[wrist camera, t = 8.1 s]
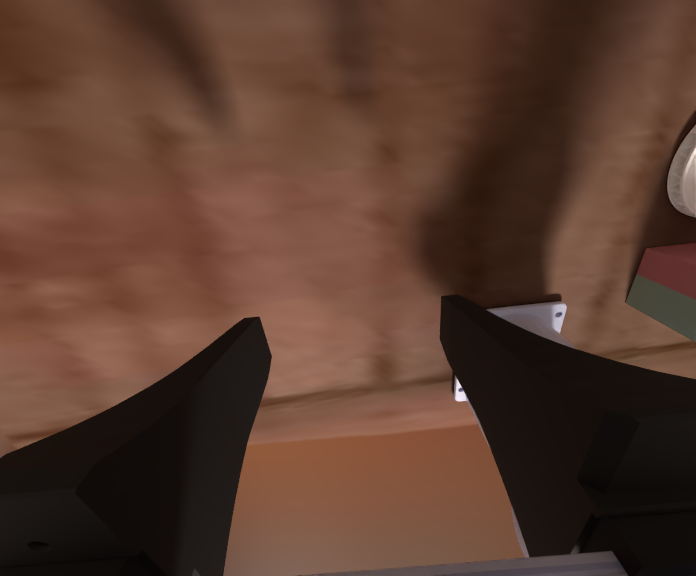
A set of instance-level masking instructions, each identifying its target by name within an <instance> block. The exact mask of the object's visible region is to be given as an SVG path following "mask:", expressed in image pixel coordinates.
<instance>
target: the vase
mask: <svg viewBox="0 0 696 576" xmlns="http://www.w3.org/2000/svg"><path fill="white" fill-rule="evenodd" d="M667 191H668V196H669V199H670V201H671V203H672V205H673V206H674V207H675V208H676V209H677V210H678V211H679V212H681V213H683V214H685V215H688V216H692V217H696V125H695V126H694V127H693V128H692V130H691V131H690V132H689V133H688V135H687V136H686V137H685V139H684V140H683V142H682V143H681V145H680V147H679V149H678V150H677V152H676V154H675V156H674V158H673V161H672V163H671V166H670V170H669V174H668V180H667Z"/></svg>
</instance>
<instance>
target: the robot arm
mask: <svg viewBox="0 0 696 576" xmlns="http://www.w3.org/2000/svg"><path fill="white" fill-rule="evenodd" d="M566 308H567V306H566V304H564V303H563V302H561V301H556V302H547V303H538V304H529V305H520V306H511V307H502V308H492V309H484V308H482V307H480V306H478V305H477V304H475V303H473V302H471V301H469V300H468V299H466V298H464V297H462V296H460V295H448V296H441V320H440V341H441V344H442V346H443V349H444V352H445V355H446V357H447V360H448V362H449V364H450V366H451V368H452V370H453V372H454V374H455V384H454V398H455V400H456V401H467V402H468V404H469V406H470V408H471V410H472V412H473V414H474V417H475V419H476V421H477V423H478V425H479V427H480V429H481V431H482V433H483V435H484V437H485V439H486V441H487V443H488V445H489V447H490V449H491V451H492V454H493V456H494V459H495V462H496V464H497V467H498V469H499V472H500V475H501V477H502V480H503V483H504V485H505V488H506V491H507V494H508V496H509V499H510V502H511V505H512V515H513V520H514V526H515V531H516V534H517V538H518V541H519V544H520V546H521V549H522V551H523V553H524V555H525V558H516V559H504V560H490V561H478V562H465V563H452V564H439V565H428V566H414V567H402V568H389V569H377V570H363V571H350V572H339V573H324V574H312V575H299V576H696V379H692V378H687V377H682V376H677V375H672V374H667V373H662V372H657V371H653V370H649V369H645V368H641V367H637V366H633V365H629V364H625V363H621V362H617V361H614V360H610V359H607V358H603V357H600V356H596V355H593V354H590V353H587V352H584V351H581V350H578V349H577V348H576V347H574V346H573V345H572V344H571V343H570V342H569V341H567V340H566V339H565V338H564V337H563V336H562V335H561V334H560V330H561V327H562V323H563V319H564V316H565V312H566ZM556 313H558V314H556ZM271 358H272V356H271V353H270V349H269V346H268V343H267V339H266V336H265V333H264V330H263V326H262V323H261V320H260V317H251V318H244V319H243V320H241V321H240V322H238V323H237V324H235V325H234V326H233V327H232V328H230V329H229V330H228V331H227V332H225V333H224V334H223V335H222V336H220V337H219V338H218V339H217V340H215V341H214V342H213V343H212V344H210V345H209V346H208V347H207V348H205V349H204V350H203V351H201V352H200V353H199V354H197V355H196V356H194V357H193V358H192V359H190V360H189V361H188V362H186V363H185V364H184V365H182V366H181V367H179V368H178V369H176V370H175V371H173V372H172V373H170V374H169V375H167V376H166V377H164V378H163V379H161V380H159V381H158V382H156V383H155V384H153V385H151V386H150V387H148V388H146V389H144V390H143V391H141V392H139V393H137V394H135V395H134V396H132V397H130V398H128V399H126V400H125V401H123V402H121V403H119V404H117V405H116V406H114V407H112V408H110V409H108V410H106V411H104V412H102V413H100V414H98V415H96V416H94V417H91V418H89V419H87V420H85V421H83V422H81V423H79V424H77V425H74V426H72V427H70V428H68V429H65V430H63V431H61V432H59V433H56V434H54V435H51V436H49V437H47V438H44V439H42V440H40V441H37V442H35V443H32V444H30V445H28V446H25V447H23V448H20V449H18V450H15V451H13V452H10V453H8V454H6V455H4V456H3V457H1V458H0V576H223V573H224V566H225V558H226V551H227V545H228V539H229V532H230V527H231V521H232V515H233V510H234V503H235V499H236V493H237V488H238V483H239V478H240V473H241V469H242V464H243V459H244V455H245V450H246V446H247V442H248V439H249V435H250V432H251V429H252V426H253V423H254V420H255V417H256V414H257V411H258V408H259V405H260V402H261V399H262V396H263V393H264V390H265V386H266V383H267V380H268V375H269V370H270V365H271ZM459 388H460V389H459Z"/></svg>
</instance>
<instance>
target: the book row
mask: <svg viewBox="0 0 696 576" xmlns="http://www.w3.org/2000/svg"><path fill="white" fill-rule="evenodd" d="M626 303H627V304H628V305H630V306H632V307H634V308H635V309H637V310H639V311H641V312H643V313H644V314H646V315H648V316H650V317H652V318H653V319H655V320H657V321H659V322H661V323H662V324H664V325H666V326H668V327H670V328H671V329H673V330H675V331H677V332H678V333H680V334H682V335H684V336H686V337H687V338H689V339H691V340H693V341H695V342H696V243H687V244H679V245H670V246H661V247H652V248H646V250H645V252H644V255H643V258H642V260H641V263H640V266H639V268H638V271H637V274H636V276H635V279H634V282H633V284H632V287H631V290H630V292H629V295H628V297H627V300H626Z"/></svg>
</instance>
